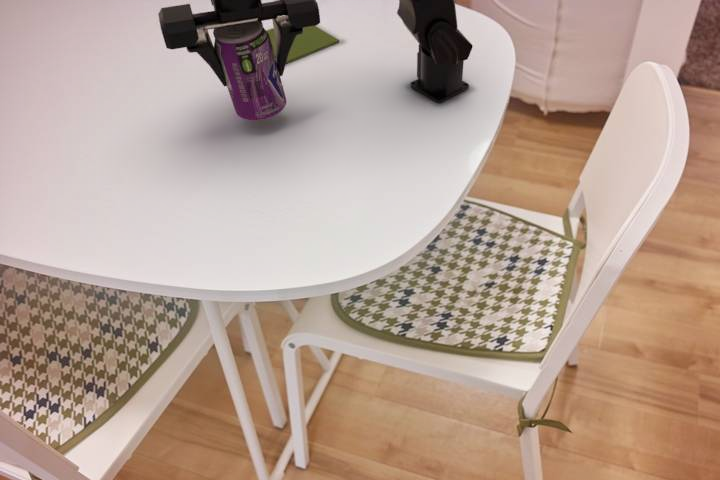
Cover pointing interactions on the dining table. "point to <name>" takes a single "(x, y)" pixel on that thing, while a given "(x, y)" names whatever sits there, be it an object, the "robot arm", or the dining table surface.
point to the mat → (306, 42)
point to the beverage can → (250, 70)
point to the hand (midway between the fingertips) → (253, 79)
